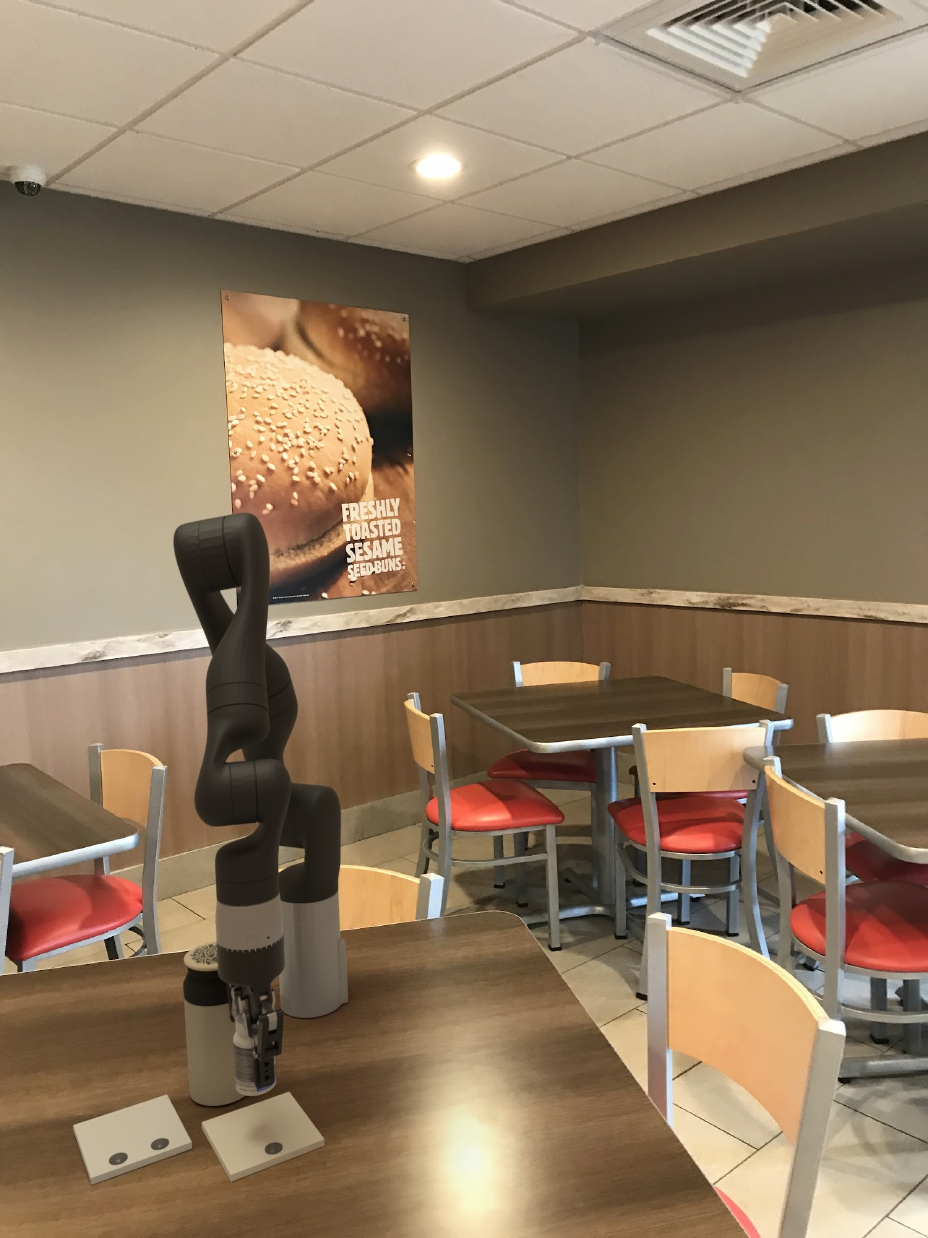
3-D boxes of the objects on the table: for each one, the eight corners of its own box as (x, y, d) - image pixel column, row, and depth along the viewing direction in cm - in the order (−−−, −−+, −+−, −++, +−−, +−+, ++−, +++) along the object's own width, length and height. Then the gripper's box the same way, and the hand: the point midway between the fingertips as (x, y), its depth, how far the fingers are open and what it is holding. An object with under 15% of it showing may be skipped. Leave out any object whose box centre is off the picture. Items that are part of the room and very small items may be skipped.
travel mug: (197, 1116, 117) (188, 974, 115) (183, 1082, 124) (175, 948, 122) (261, 1096, 120) (254, 959, 118) (245, 1065, 127) (238, 935, 125)
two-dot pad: (167, 1100, 120) (166, 1093, 120) (192, 1148, 111) (191, 1141, 110) (73, 1131, 114) (73, 1124, 114) (91, 1185, 105) (91, 1177, 105)
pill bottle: (266, 1099, 109) (263, 1029, 108) (228, 1095, 110) (224, 1025, 109) (283, 1075, 113) (280, 1007, 113) (246, 1071, 114) (242, 1004, 114)
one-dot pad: (289, 1098, 120) (289, 1091, 120) (324, 1145, 111) (324, 1138, 110) (201, 1128, 114) (201, 1121, 114) (231, 1182, 105) (230, 1174, 105)
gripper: (304, 948, 106) (310, 1094, 107) (260, 905, 118) (266, 1037, 120) (237, 965, 102) (244, 1117, 103) (199, 919, 114) (206, 1055, 116)
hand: (256, 1073), depth 111 cm, fingers closed on pill bottle, 4 cm apart
